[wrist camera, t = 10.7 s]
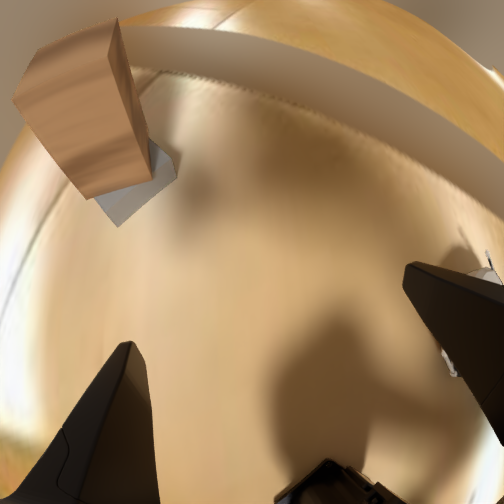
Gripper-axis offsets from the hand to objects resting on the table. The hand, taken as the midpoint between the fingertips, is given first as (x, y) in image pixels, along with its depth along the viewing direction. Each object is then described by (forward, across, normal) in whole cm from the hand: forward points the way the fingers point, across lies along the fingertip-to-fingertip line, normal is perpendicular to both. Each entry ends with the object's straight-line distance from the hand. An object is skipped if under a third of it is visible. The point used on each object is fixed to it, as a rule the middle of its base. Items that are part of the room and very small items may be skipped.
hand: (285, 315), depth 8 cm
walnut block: (+19, +8, -4) cm, 21 cm away
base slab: (+21, +8, -2) cm, 22 cm away
